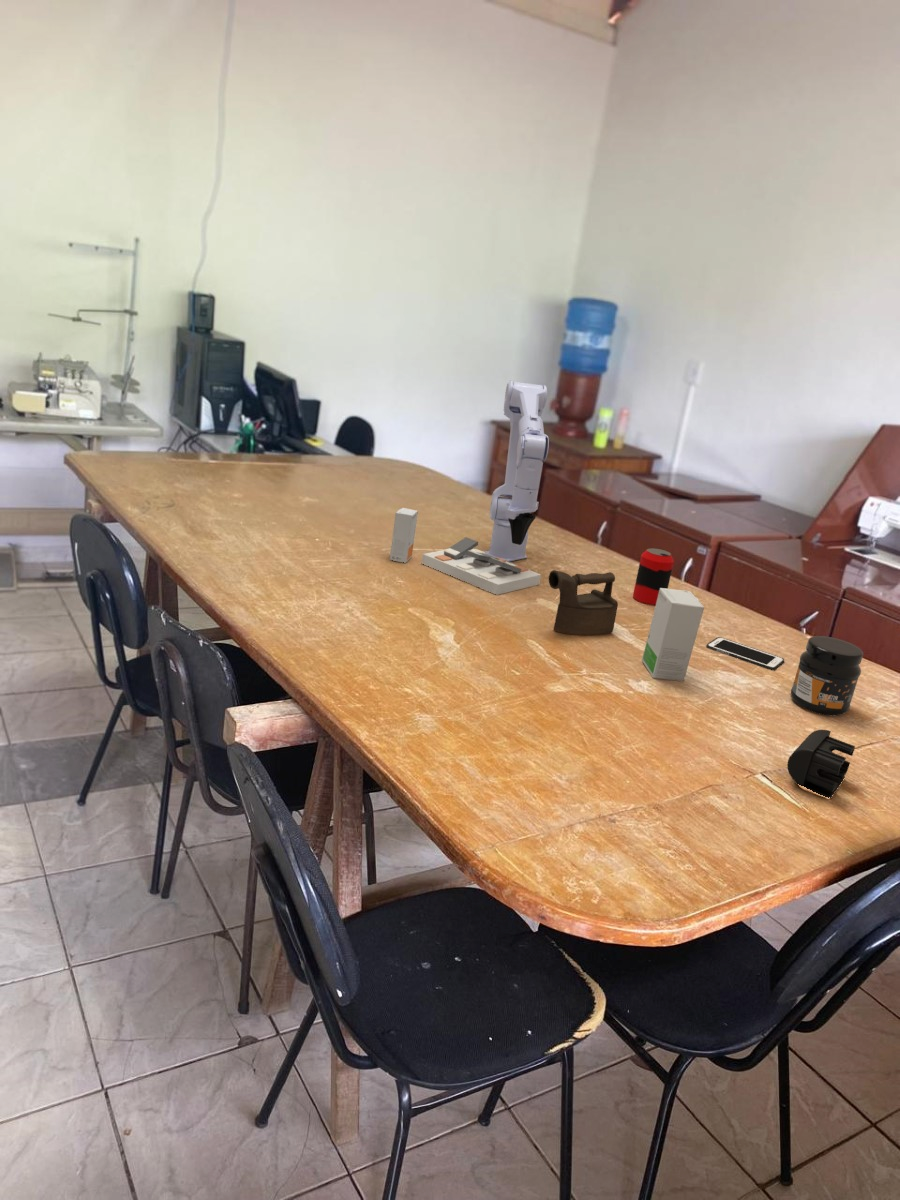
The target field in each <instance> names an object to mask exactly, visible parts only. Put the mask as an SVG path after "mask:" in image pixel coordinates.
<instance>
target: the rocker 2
mask: <svg viewBox="0 0 900 1200" xmlns="http://www.w3.org/2000/svg"><path fill="white" fill-rule="evenodd" d="M466 555H468V556H471V557H473V558H476V559H479V560H485V561H489V558H491V557H492V558H495V559H497V560H499V559H498V558H496V557H493V556H491V555H488V554H484V553H478V552H474V551H470V550H467V551H466Z"/></svg>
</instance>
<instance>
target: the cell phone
mask: <svg viewBox="0 0 900 1200" xmlns="http://www.w3.org/2000/svg"><path fill="white" fill-rule="evenodd" d="M705 647H706V648H707V649H708V650H711V651H714V652H717V653H721V654H724V655H727V656H729V657H731V658H734V659H737V658H738V659H737V660H740V661H743V662H746V663H749V664H752V665H755V666H757V667H760V668H763V669H766V670H770V671H776V670H777V669H778V668H779V666H782V665H783V664H784V662H785V658H783V657H781V656H778V655H775V654H771V653H769V652H766V651H764V650H760V649H757V648H755V647H751V646H748V645H746V644H743V643H740V642H736V641H733V640H730V639H727V638H724V637H721V636H718V637H716V638H714V639H713V640H711V641H709V642H708V643H707V644H706V646H705Z"/></svg>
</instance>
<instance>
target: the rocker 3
mask: <svg viewBox="0 0 900 1200" xmlns="http://www.w3.org/2000/svg"><path fill="white" fill-rule="evenodd" d="M489 562H491V563H494V564H496V565H499V566H501V567H504V568H507V569H510V570H512V571H515V572H518V573H520V572H521V569H520V568H517V567H514V566H512V565H509V564H507V563H505V562H503V561H500V560H497V559H495V558H492V557H491V558H489Z"/></svg>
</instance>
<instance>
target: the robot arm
mask: <svg viewBox="0 0 900 1200" xmlns="http://www.w3.org/2000/svg"><path fill="white" fill-rule="evenodd" d="M547 399H548V388H547V386H546V384H535V383H527V382H519V381H514V380H509V381H508V382H507V384H506V388H505V394H504V403H503V404H504V405H503V415H504V416H505V417H507V418H508V419H509V425H510V431H509V441H508V450H507V451H508V452H507V457H506V468H505V475H504V477H505V478H504V484H502V485H500V486H498V487H497V488H495V489H494V490H493V492H492V495H491V499H490V506H489V519H490V520H491V521H493V525H492V526H493V527H492V530H491V531H492V533H491V539H490V546H489V550H484V551H483V552H485V553H486V554H489V555H491V556H494V557H499V558H501V559H504V560H506V561H507V562H509V563H510V562H514V561H519V560H523V559H527V558H528V555H526V549H527V543H528V539H529V529H530V526H531V525H532V523H534V521H535V519H536V517H537V516H536V514H534V512H536V511H537V510H538V509H539V502H540V501H538V497H539V496H538V494H539V489H540V483H541V477H542V473H543V466H544V465H543V464H544V462H546V460H547V457H548V454H549V446H550V444H549V443H550V442H549V441H550V440H549V436H548V435H547V434H545V429H544V421H543V419H542V418H541V416H542V413H543V411H544V409H545V407H546V404H547Z"/></svg>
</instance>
